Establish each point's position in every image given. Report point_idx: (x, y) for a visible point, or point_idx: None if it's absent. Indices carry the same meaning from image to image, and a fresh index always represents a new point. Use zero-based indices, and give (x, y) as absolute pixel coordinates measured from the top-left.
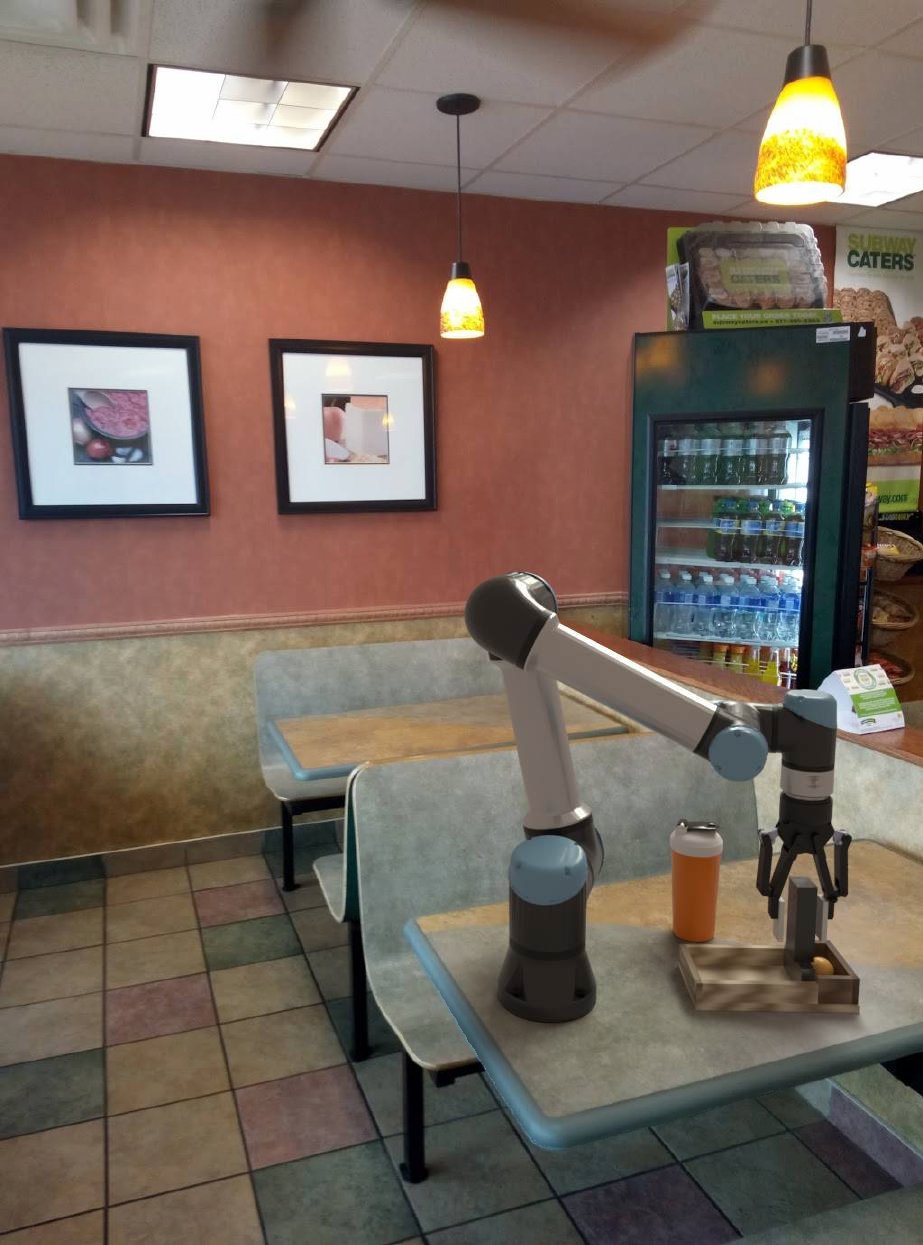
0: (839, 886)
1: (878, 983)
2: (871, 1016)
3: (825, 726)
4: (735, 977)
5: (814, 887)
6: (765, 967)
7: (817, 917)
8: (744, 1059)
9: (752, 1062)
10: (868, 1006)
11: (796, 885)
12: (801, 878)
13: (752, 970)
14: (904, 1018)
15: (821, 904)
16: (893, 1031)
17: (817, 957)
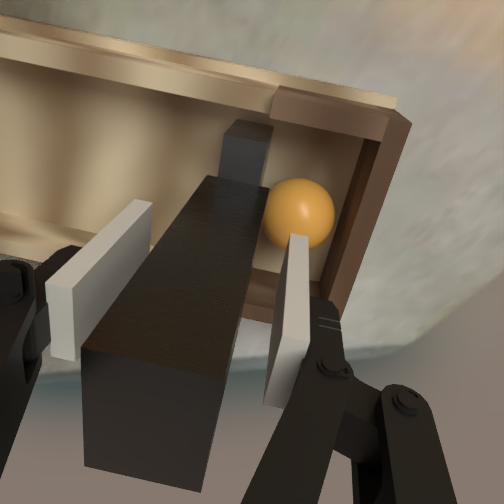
0: (355, 490)
1: (473, 201)
2: (344, 309)
3: None
4: (89, 135)
5: (182, 487)
6: (190, 97)
7: (283, 284)
8: (52, 357)
9: (63, 365)
10: (365, 279)
11: (85, 450)
12: (157, 391)
13: (146, 109)
14: (407, 328)
15: (269, 368)
16: (350, 354)
17: (293, 219)
